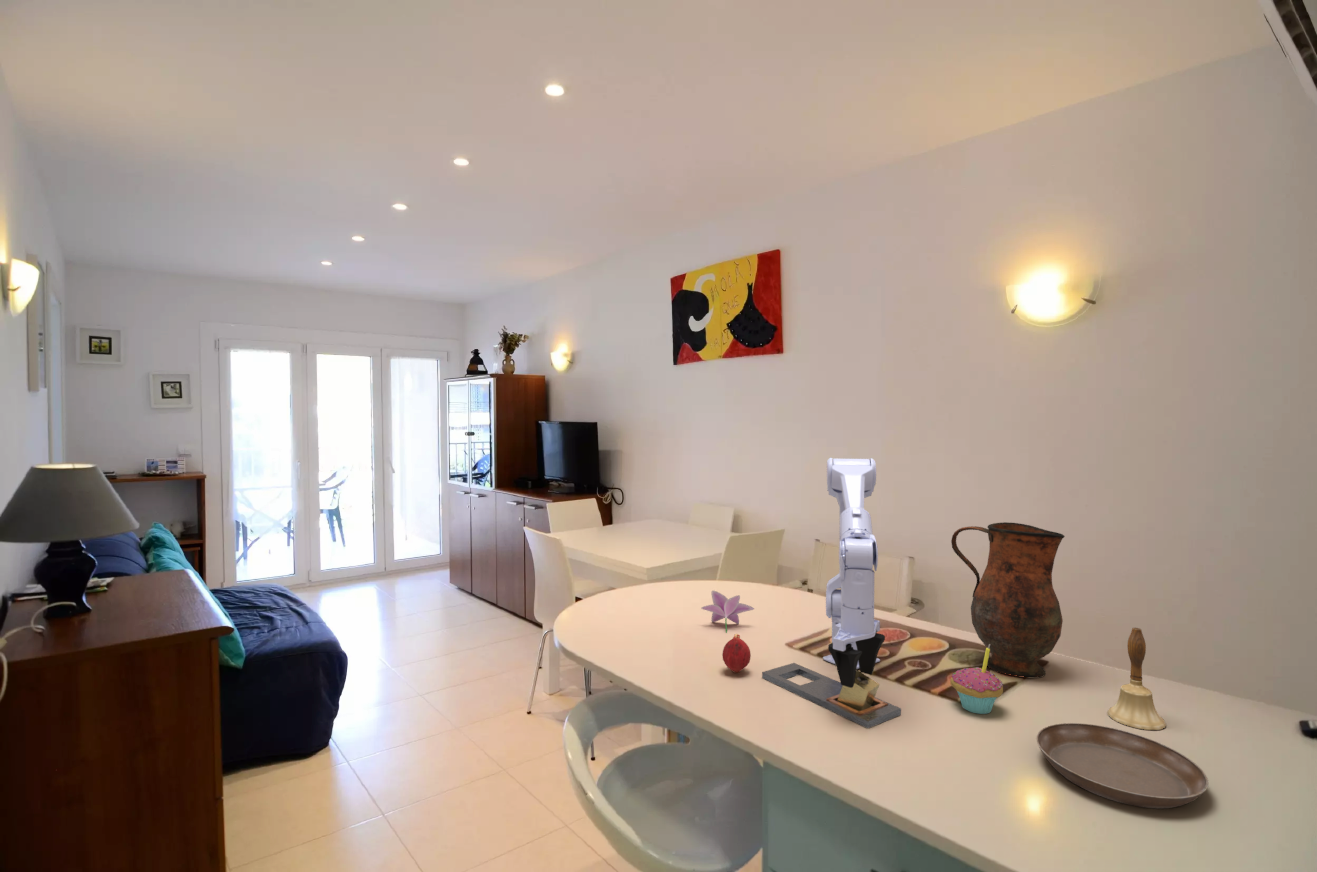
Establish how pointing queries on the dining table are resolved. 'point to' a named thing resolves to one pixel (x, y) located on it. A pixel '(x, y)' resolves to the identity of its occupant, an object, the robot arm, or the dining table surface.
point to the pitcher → (1016, 597)
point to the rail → (829, 695)
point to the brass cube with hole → (859, 693)
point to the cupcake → (977, 687)
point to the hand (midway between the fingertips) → (856, 679)
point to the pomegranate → (736, 654)
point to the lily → (726, 608)
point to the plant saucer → (1122, 765)
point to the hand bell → (1136, 692)
